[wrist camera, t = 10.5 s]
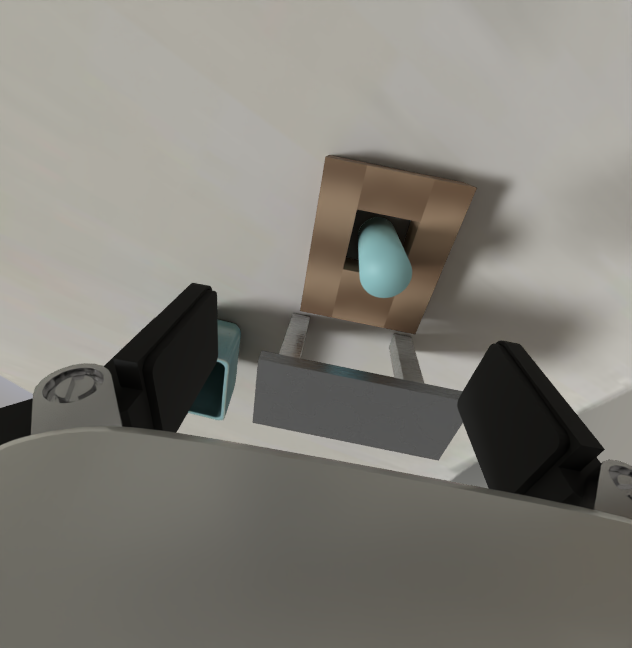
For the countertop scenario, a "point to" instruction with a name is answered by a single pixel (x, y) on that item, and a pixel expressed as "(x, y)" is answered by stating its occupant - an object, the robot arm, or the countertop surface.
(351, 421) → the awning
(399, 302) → the socket
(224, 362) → the flower pot
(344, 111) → the countertop surface
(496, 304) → the countertop surface
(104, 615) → the robot arm
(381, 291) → the peg
